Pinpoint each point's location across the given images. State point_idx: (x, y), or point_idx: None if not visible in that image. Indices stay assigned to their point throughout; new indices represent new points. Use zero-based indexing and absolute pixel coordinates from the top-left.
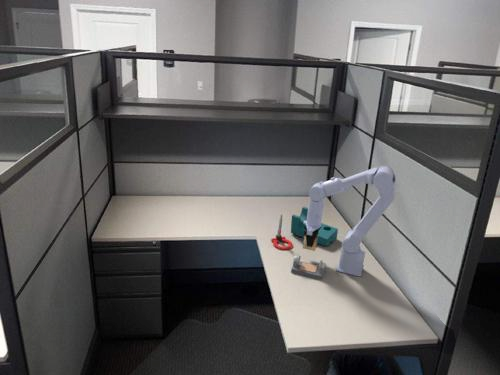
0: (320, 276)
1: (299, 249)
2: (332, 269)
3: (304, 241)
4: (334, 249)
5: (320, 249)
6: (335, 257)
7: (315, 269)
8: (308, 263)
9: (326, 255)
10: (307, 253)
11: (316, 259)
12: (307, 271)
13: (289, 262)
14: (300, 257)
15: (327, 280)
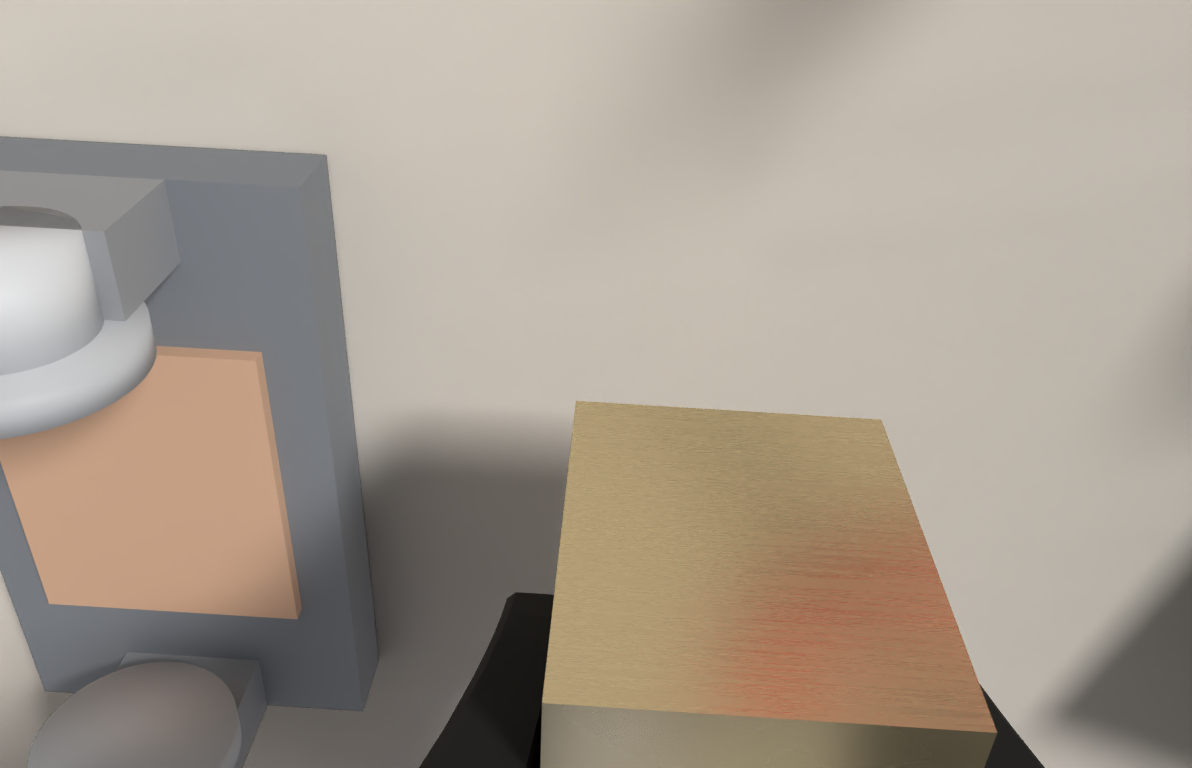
0: (44, 661)
1: (1058, 125)
2: None
3: (556, 593)
4: (1188, 729)
5: (1147, 538)
6: None
7: (151, 600)
8: (321, 458)
9: None
10: (897, 332)
11: None
12: (12, 478)
13: (287, 3)
14: (136, 383)
15: None
